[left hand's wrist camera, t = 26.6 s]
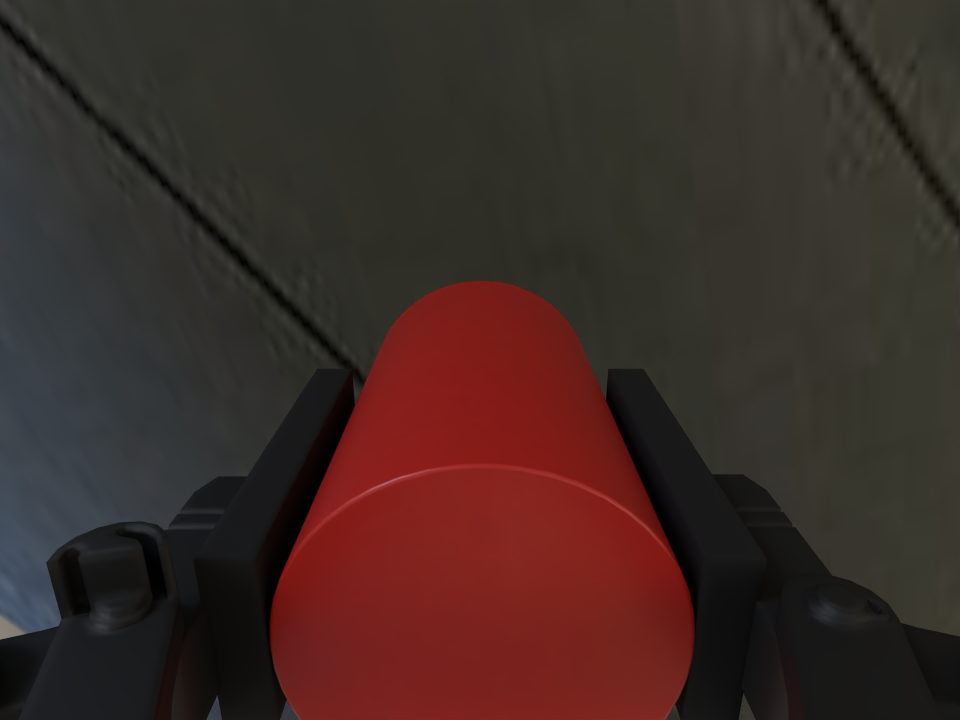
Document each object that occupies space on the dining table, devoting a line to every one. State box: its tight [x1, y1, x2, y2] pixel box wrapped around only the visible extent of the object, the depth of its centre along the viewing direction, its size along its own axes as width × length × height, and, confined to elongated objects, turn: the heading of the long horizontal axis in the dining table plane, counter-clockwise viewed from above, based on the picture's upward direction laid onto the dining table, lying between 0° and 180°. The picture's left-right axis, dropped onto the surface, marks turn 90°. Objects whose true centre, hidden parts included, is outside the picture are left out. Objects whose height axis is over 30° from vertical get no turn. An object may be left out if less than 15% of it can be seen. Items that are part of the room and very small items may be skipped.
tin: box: [269, 281, 695, 720], centre depth 13 cm, size 6×6×9 cm
